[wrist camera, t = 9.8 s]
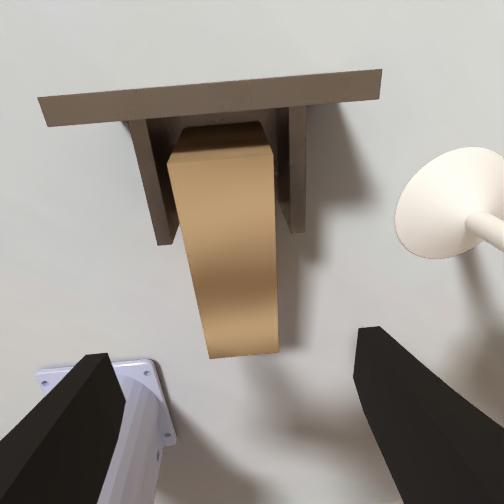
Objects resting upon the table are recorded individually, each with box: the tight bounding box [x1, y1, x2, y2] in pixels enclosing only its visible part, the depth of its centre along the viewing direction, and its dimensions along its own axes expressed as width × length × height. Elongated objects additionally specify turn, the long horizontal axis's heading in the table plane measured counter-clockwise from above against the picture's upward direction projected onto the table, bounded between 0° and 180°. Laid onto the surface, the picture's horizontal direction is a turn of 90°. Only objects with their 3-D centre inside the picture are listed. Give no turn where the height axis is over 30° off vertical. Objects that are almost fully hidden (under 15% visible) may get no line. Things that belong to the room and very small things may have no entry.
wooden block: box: [167, 122, 279, 359], centre depth 15 cm, size 10×4×5 cm, turn 4°
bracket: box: [37, 69, 382, 246], centre depth 13 cm, size 6×10×6 cm, turn 94°
